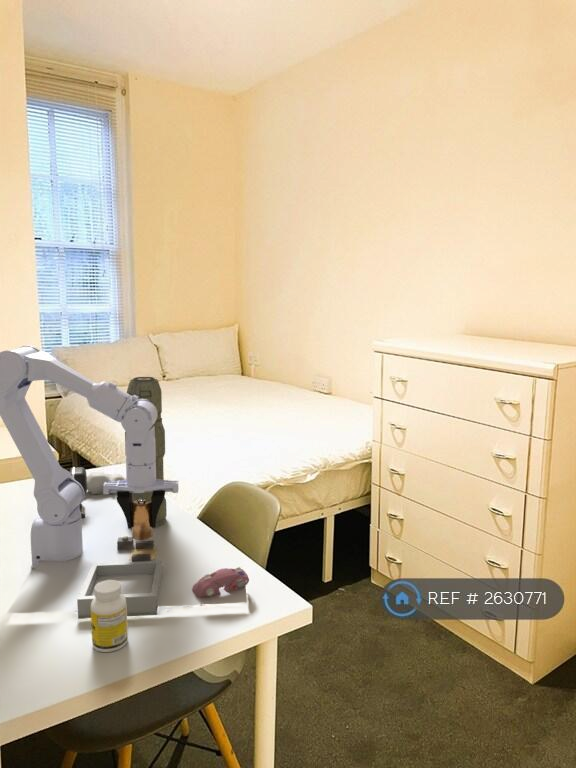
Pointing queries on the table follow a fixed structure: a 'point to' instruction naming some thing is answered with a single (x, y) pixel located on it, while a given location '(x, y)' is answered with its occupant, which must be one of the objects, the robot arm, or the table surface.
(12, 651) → the table surface
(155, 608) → the tray
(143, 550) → the brown stand base
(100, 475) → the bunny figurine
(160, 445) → the thermos
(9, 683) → the table surface
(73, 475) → the battery charger
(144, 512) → the cell
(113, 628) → the supplement bottle
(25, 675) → the table surface
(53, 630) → the table surface
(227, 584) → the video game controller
